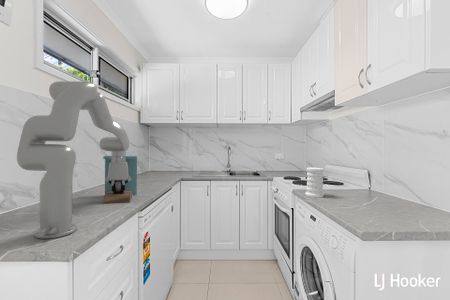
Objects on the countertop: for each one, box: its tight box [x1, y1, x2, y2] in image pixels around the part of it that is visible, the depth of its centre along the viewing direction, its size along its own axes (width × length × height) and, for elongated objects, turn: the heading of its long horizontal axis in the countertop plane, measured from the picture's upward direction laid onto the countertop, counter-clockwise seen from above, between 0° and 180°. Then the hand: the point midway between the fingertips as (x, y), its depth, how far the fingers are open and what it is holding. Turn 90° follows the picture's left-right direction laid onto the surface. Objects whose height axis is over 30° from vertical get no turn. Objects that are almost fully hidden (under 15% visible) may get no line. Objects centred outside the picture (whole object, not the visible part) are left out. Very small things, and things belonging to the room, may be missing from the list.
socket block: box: [103, 190, 133, 205], centre depth 133 cm, size 13×13×4 cm
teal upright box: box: [102, 155, 138, 196], centre depth 142 cm, size 8×18×24 cm, turn 108°
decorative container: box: [304, 167, 325, 198], centre depth 156 cm, size 12×12×18 cm
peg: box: [115, 180, 122, 194], centre depth 132 cm, size 4×4×10 cm
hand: (118, 191), depth 133 cm, fingers closed on peg, 3 cm apart
